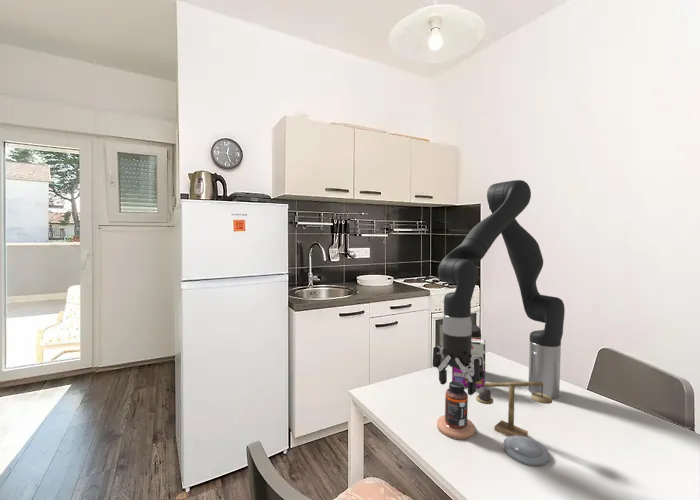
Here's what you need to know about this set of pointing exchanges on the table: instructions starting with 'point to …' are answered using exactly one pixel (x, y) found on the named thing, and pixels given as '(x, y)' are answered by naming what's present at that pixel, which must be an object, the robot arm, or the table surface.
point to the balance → (511, 405)
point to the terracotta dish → (456, 433)
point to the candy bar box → (476, 351)
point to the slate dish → (526, 450)
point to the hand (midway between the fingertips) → (456, 388)
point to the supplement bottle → (456, 405)
